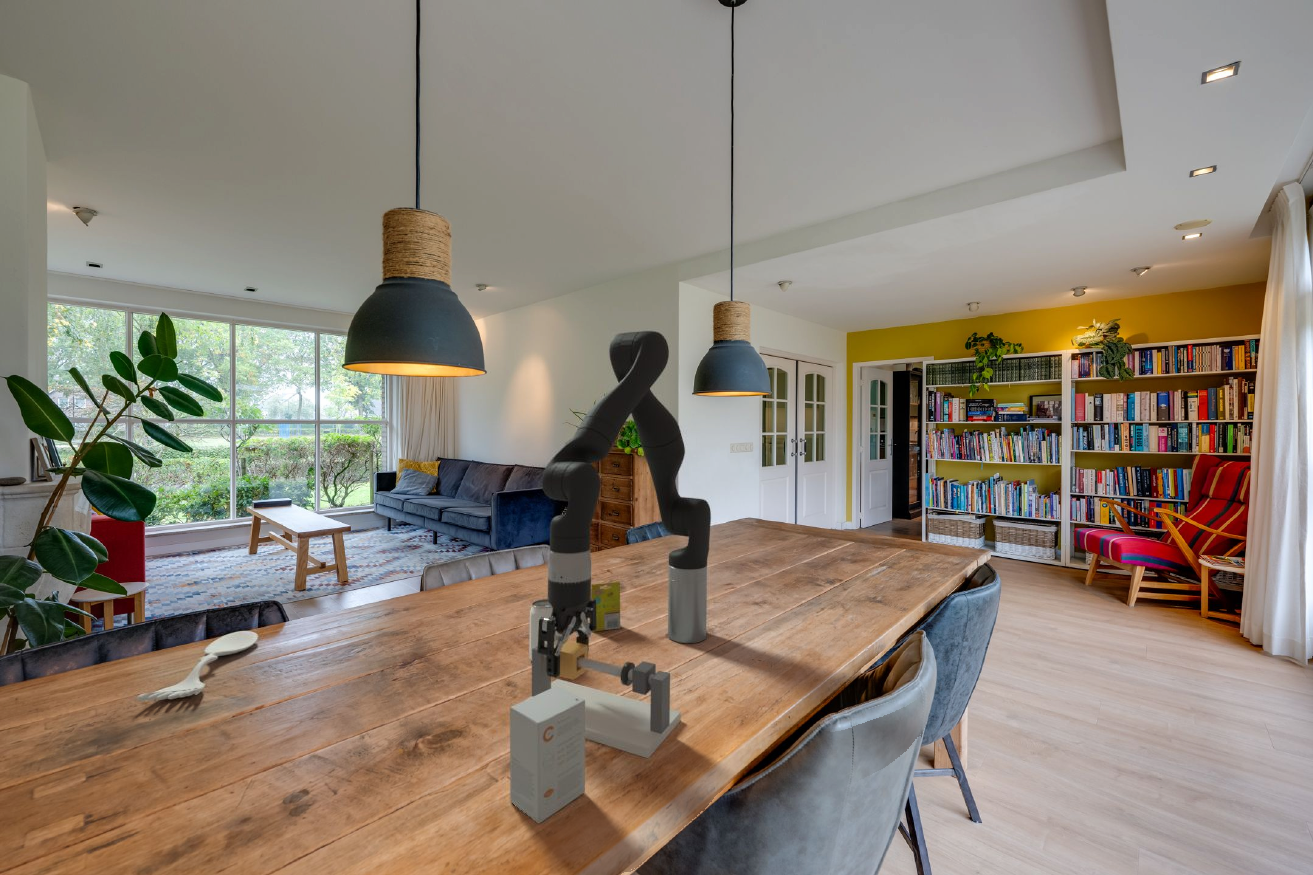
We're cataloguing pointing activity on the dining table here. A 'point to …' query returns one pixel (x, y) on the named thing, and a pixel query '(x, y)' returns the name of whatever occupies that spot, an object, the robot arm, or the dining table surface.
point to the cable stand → (619, 704)
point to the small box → (547, 752)
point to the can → (537, 611)
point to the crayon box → (607, 606)
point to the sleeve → (572, 659)
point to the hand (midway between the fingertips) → (568, 666)
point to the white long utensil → (216, 648)
